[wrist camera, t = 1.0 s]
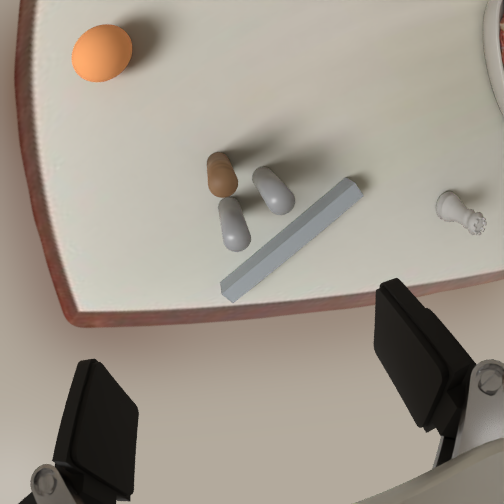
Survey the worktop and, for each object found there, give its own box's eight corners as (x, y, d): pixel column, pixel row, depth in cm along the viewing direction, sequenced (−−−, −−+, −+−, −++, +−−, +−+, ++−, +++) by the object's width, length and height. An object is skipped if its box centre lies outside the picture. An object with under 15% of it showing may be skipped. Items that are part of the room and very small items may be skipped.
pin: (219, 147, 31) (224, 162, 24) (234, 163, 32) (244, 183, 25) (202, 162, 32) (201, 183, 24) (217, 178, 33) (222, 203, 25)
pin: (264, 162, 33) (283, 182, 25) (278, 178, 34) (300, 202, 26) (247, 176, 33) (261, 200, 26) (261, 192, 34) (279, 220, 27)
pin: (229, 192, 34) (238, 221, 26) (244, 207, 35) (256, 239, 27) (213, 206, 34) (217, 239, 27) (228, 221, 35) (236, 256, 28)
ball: (114, 21, 23) (96, 6, 17) (149, 53, 25) (137, 43, 20) (74, 62, 24) (50, 56, 19) (108, 94, 26) (88, 94, 21)
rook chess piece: (458, 203, 39) (493, 224, 32) (442, 224, 40) (475, 248, 33) (447, 184, 37) (485, 203, 30) (429, 206, 38) (465, 229, 31)
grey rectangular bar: (345, 177, 35) (355, 182, 33) (354, 189, 36) (363, 195, 33) (220, 282, 39) (221, 293, 37) (231, 291, 40) (232, 303, 37)
